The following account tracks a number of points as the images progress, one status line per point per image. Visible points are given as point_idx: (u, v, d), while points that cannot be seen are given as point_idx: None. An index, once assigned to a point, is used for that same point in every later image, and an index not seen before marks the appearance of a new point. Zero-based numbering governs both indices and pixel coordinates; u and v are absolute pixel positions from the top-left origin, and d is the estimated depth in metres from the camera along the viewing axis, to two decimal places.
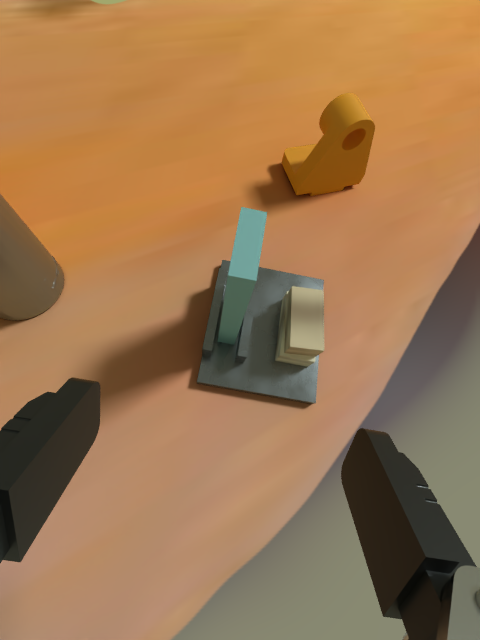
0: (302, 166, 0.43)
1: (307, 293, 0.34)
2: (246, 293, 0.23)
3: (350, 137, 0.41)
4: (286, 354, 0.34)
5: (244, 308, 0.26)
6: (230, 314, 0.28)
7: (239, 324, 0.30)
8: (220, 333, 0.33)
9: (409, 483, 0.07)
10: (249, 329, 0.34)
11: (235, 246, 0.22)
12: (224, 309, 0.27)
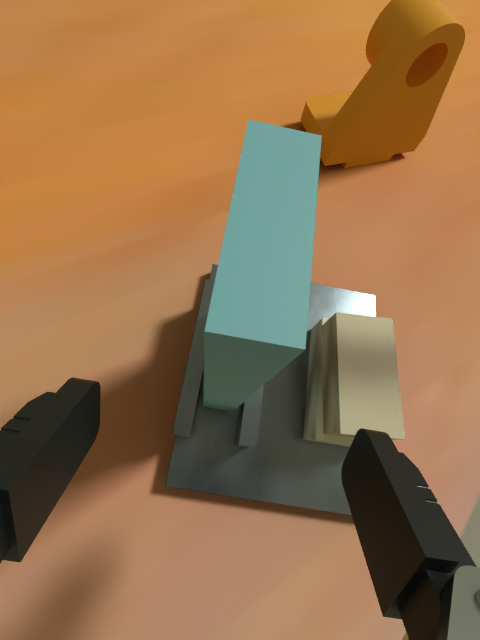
0: (336, 119, 0.28)
1: (364, 325, 0.19)
2: (264, 369, 0.08)
3: (416, 67, 0.26)
4: (327, 437, 0.19)
5: (254, 386, 0.11)
6: (223, 389, 0.12)
7: (242, 399, 0.14)
8: (206, 402, 0.18)
9: (409, 483, 0.07)
10: (259, 392, 0.19)
11: (231, 230, 0.07)
12: (208, 383, 0.12)
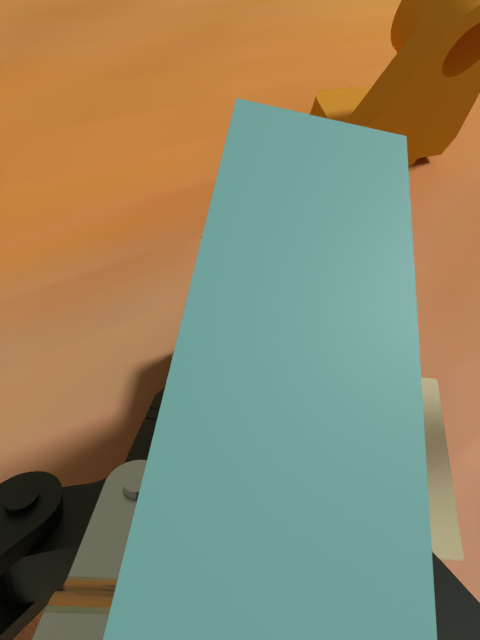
0: (353, 116, 0.23)
1: None
2: None
3: (453, 53, 0.21)
4: None
5: None
6: None
7: None
8: None
9: None
10: None
11: (172, 436, 0.02)
12: None
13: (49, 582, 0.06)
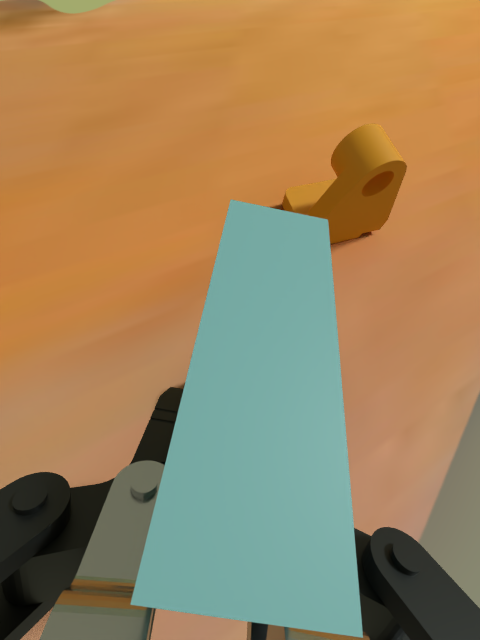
0: (309, 214, 0.34)
1: None
2: None
3: (372, 178, 0.31)
4: None
5: None
6: None
7: None
8: None
9: None
10: None
11: (202, 355, 0.04)
12: None
13: (57, 583, 0.06)
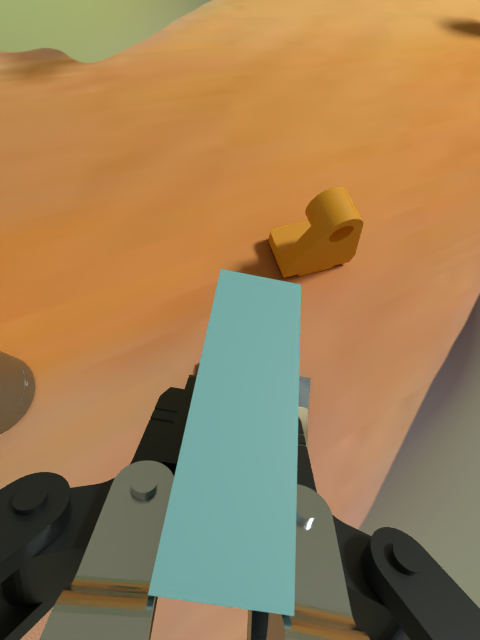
0: (288, 252, 0.41)
1: None
2: None
3: None
4: None
5: None
6: None
7: None
8: None
9: None
10: None
11: (195, 416, 0.05)
12: None
13: (58, 582, 0.06)
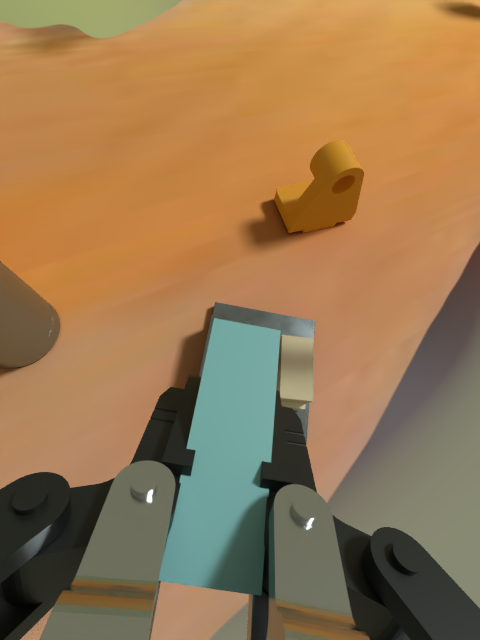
0: (294, 206, 0.44)
1: (297, 342, 0.35)
2: None
3: (341, 180, 0.42)
4: None
5: None
6: None
7: None
8: None
9: (278, 427, 0.08)
10: None
11: (192, 447, 0.07)
12: None
13: (57, 583, 0.06)
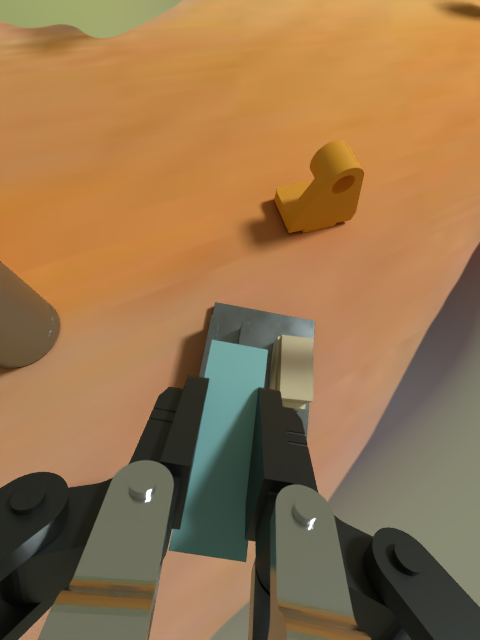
0: (294, 206, 0.44)
1: (297, 342, 0.35)
2: None
3: (341, 180, 0.42)
4: None
5: None
6: None
7: None
8: None
9: (279, 427, 0.08)
10: None
11: None
12: None
13: (55, 582, 0.06)
